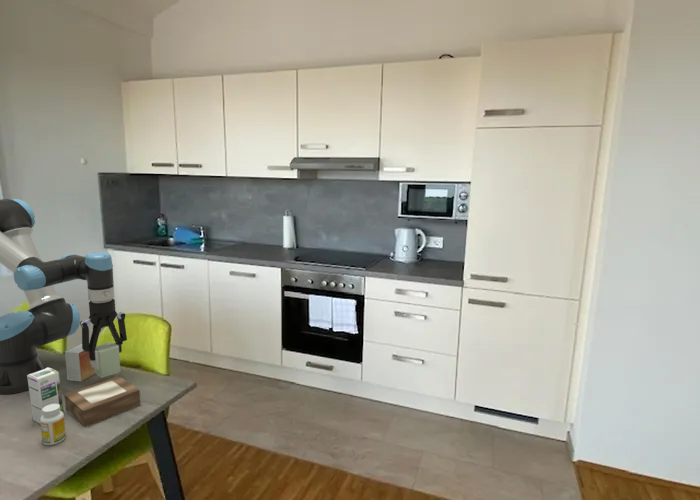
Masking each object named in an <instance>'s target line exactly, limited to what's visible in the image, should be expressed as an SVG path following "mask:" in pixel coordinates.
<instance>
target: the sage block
mask: <svg viewBox="0 0 700 500" xmlns="http://www.w3.org/2000/svg"><path fill="white" fill-rule="evenodd" d="M113 343H114V342H111V341H109V342H106V343H103V344H97V345H96V349H95V350H97V351H98V360H99V370H96V369H95V368H94V372H95V375H97V376H99V377H101V378H102V379H103V378H106V377H109V376H112V375H115V374H118V373H121V359H120V358H119V357H120V353H119V347H118V346H116V345H115V344H113Z"/></svg>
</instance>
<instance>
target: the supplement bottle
mask: <svg viewBox="0 0 700 500" xmlns="http://www.w3.org/2000/svg"><path fill="white" fill-rule="evenodd" d="M63 413H64V411H63V412H62V411H60V405H59V404H50V405H47V406H45V407H44V408H43V409H42V414H43V415H42V417H41V418H40V431H41V441H42V442H41V443H42V444H43V445H45V446H53V445H57V444H59V443H61V442H62V441H64V440H65V439H66V436H67V435H66V433H67V432H66V425H65V423H66V422H65V415H64V414H65V413H64V414H63Z"/></svg>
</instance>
